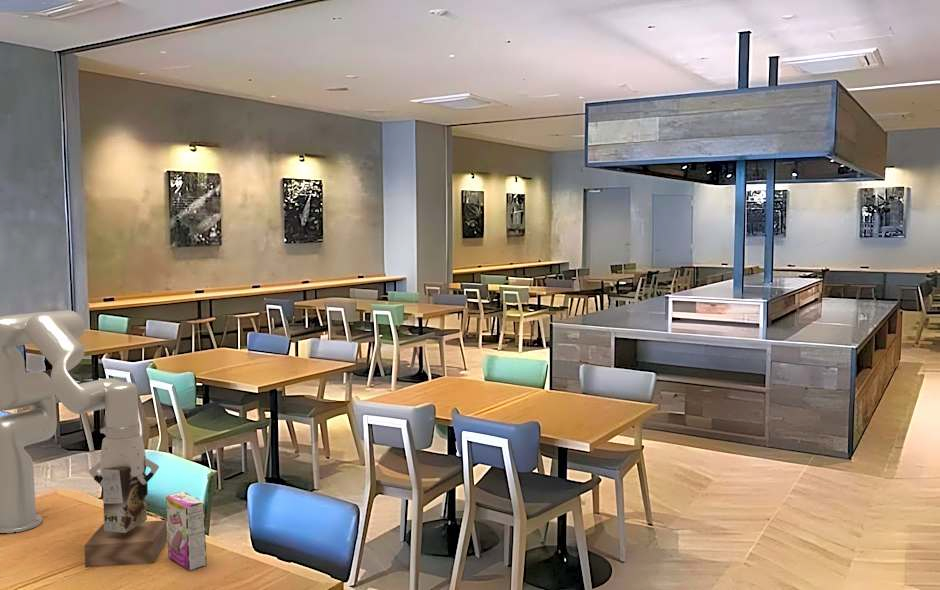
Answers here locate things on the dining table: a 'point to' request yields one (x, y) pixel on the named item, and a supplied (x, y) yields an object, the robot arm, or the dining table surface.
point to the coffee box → (122, 500)
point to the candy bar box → (186, 530)
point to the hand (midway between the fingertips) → (125, 498)
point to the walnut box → (126, 545)
